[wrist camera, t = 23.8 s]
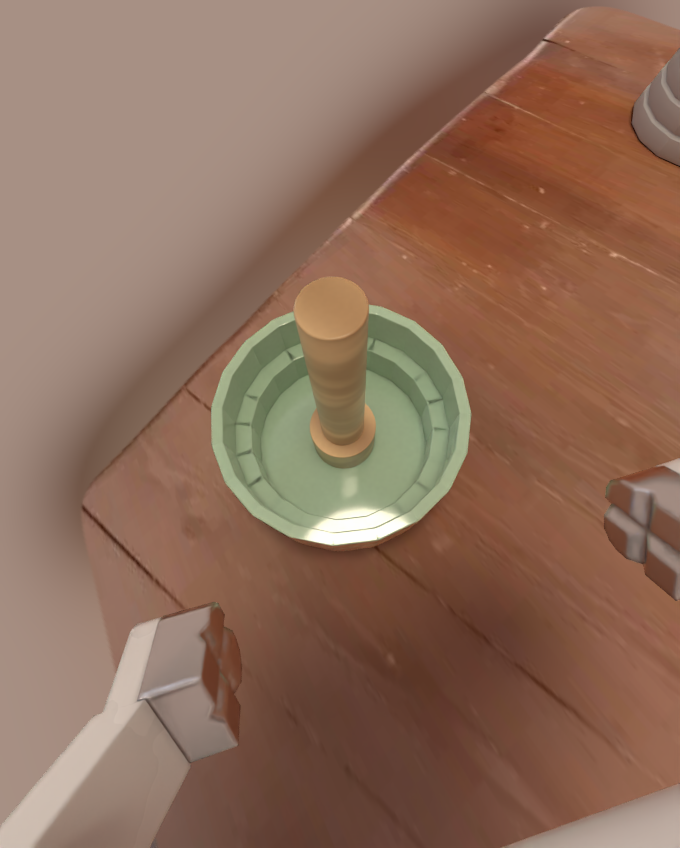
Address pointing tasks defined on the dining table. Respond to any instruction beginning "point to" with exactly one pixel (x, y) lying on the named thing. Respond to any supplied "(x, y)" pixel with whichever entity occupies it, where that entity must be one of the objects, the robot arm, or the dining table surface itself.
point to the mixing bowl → (295, 452)
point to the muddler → (337, 368)
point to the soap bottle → (661, 113)
